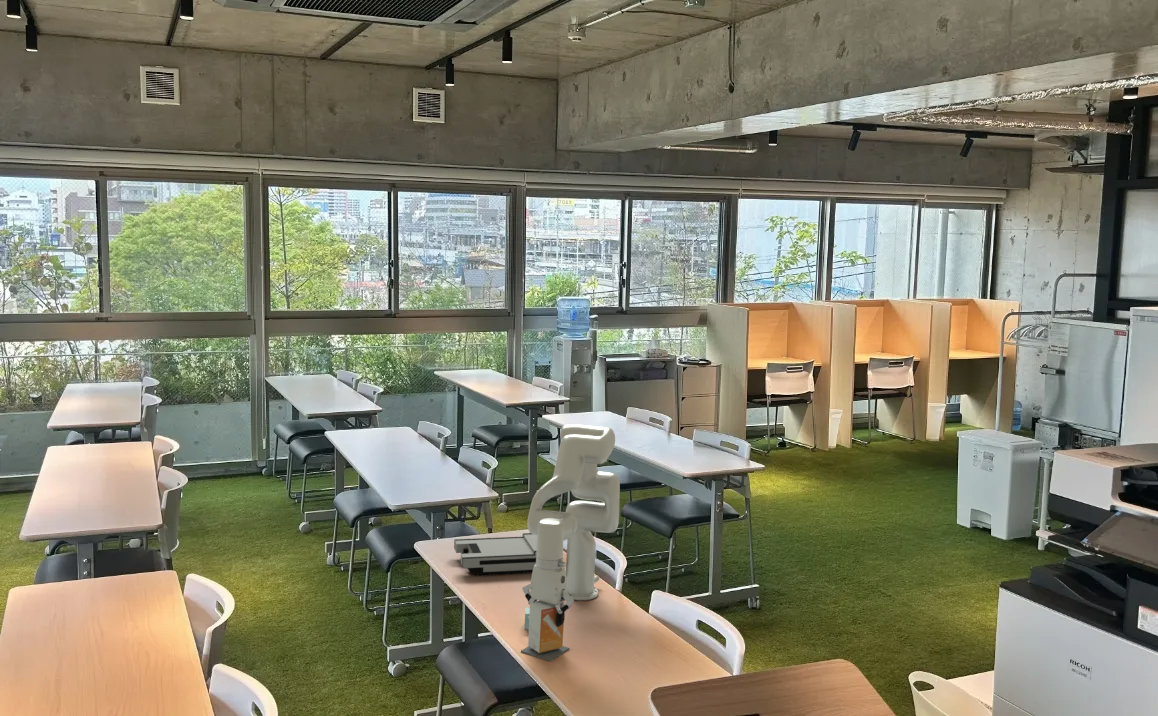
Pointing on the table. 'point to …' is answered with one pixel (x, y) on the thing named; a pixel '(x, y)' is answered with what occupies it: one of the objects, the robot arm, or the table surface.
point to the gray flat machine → (498, 554)
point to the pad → (545, 653)
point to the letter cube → (527, 617)
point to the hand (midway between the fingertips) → (546, 620)
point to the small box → (544, 627)
